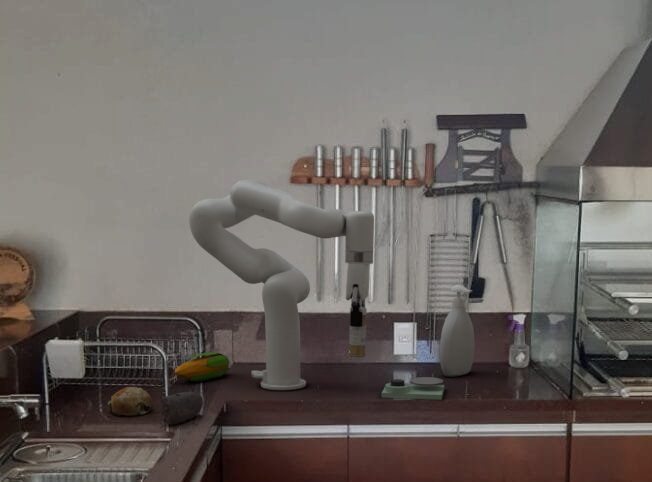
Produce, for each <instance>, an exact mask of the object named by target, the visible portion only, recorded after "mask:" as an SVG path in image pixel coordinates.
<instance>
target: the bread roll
mask: <svg viewBox="0 0 652 482" xmlns="http://www.w3.org/2000/svg"><path fill="white" fill-rule="evenodd" d="M110 398H111V399H110V400H109V401H108V402H107V406H109V411H110V412H111V413H112V414H113V415H115V416H118V417H121V416H125V417H135V416H143V415H145V414H147V413H150V412H151V411H152V410H153V408H154V401H153V398H152V396H151V394H149V393H148V392H147V391H146V390H145V389H143V388H142V387H137V386H126V387H123V388H121V389H119V390H117V392H115V393H114V394H112V395H111V397H110Z"/></svg>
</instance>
